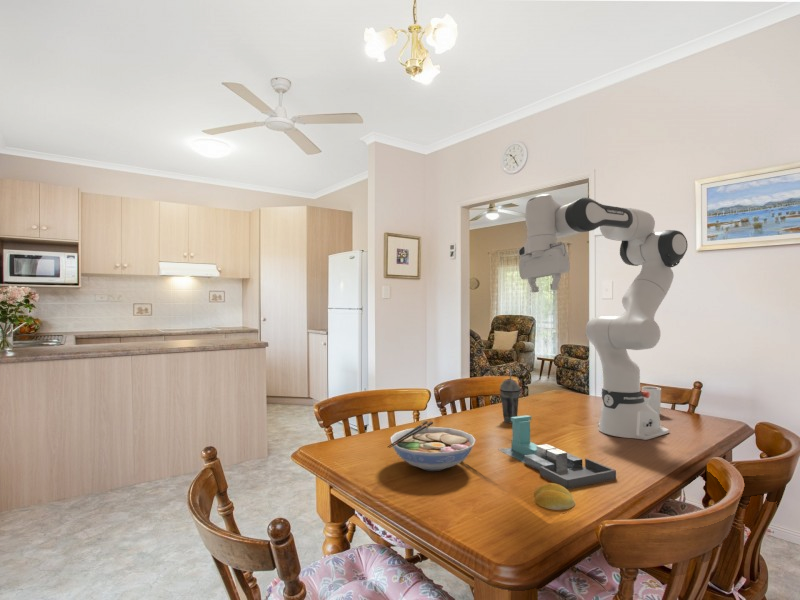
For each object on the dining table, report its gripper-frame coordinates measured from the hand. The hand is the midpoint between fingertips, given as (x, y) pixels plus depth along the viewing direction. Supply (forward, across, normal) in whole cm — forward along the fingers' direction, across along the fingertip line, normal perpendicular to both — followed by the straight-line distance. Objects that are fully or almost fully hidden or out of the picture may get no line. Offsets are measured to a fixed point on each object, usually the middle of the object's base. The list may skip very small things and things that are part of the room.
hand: (544, 291), depth 133 cm
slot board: (+47, -9, +13) cm, 50 cm away
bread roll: (+49, -32, +26) cm, 63 cm away
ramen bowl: (+47, -3, +41) cm, 62 cm away
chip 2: (+47, -17, +12) cm, 51 cm away
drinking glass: (+48, +20, -62) cm, 81 cm away
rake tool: (+46, -5, +13) cm, 48 cm away
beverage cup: (+46, +28, -3) cm, 54 cm away
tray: (+48, -24, +12) cm, 55 cm away
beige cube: (+46, -13, +12) cm, 50 cm away
